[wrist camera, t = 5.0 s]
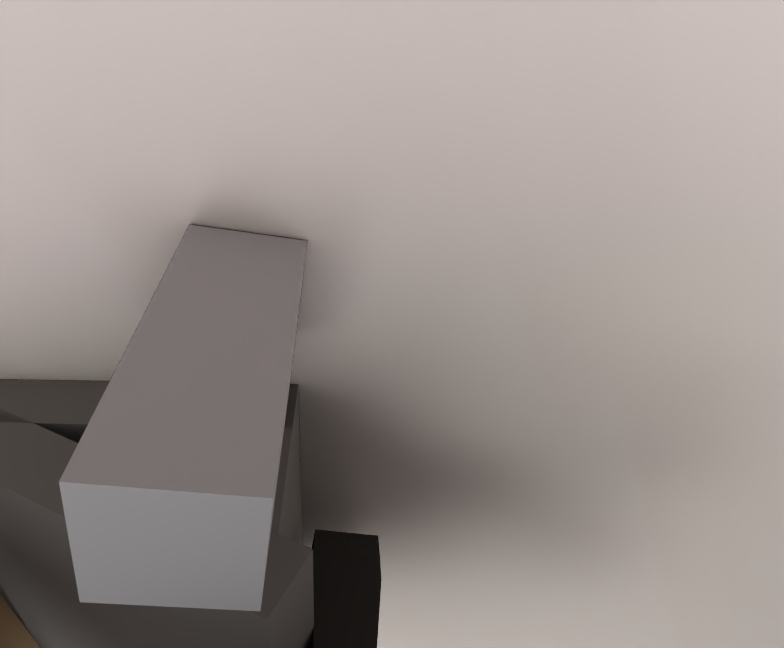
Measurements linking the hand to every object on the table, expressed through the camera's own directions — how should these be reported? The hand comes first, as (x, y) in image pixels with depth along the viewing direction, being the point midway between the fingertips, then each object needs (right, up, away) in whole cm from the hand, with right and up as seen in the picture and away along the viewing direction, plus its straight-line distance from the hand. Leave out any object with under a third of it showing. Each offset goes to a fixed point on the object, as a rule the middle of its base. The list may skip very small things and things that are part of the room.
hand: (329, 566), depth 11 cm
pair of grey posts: (-3, -5, +5) cm, 7 cm away
